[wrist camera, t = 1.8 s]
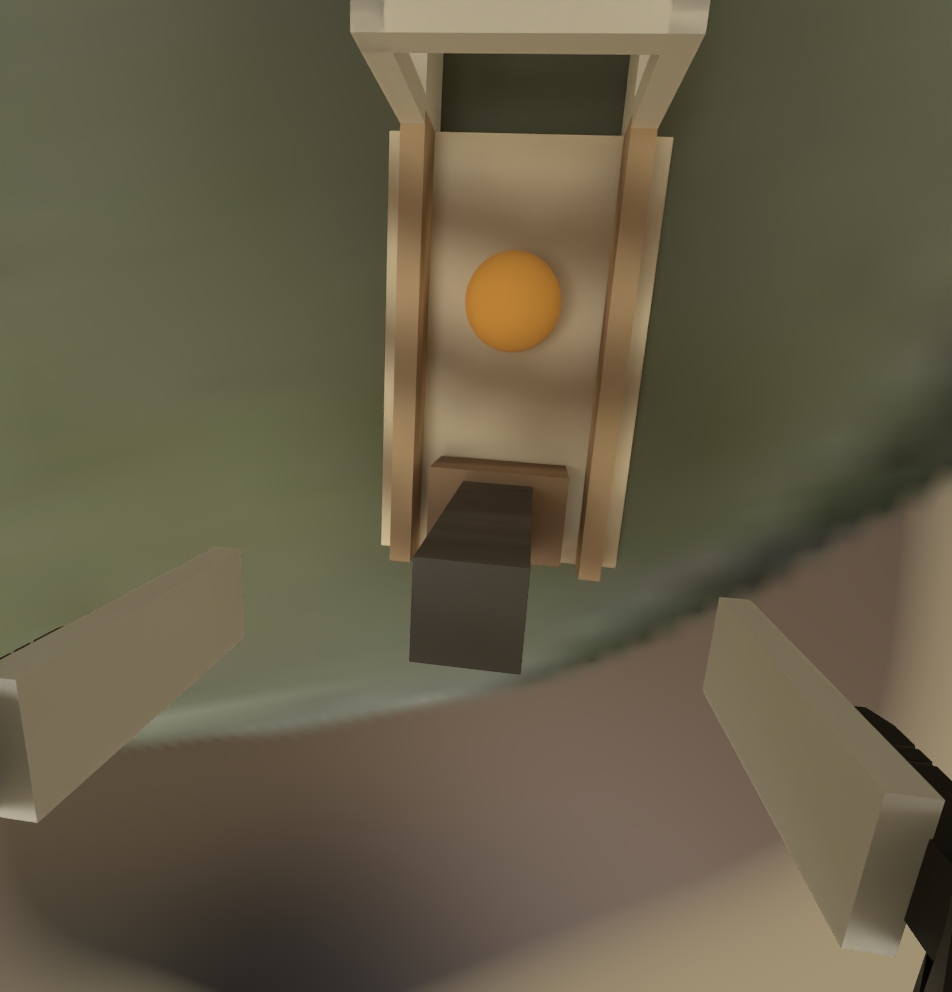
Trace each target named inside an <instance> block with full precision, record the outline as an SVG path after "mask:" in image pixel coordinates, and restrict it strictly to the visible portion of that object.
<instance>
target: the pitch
mask: <svg viewBox="0 0 952 992" xmlns="http://www.w3.org/2000/svg"><path fill="white" fill-rule="evenodd" d="M632 115H633V114H632ZM631 124H632V117H631V119H630V122H629V125H628V127H627V130H626V133H625V135H624V136H601V135H557V134H512V133H467V132H435V131H434V128H433V126H432V124H431V121H430V119H429V117H428V114H427V112H426V109H425V124H408V123H400V131H390V135H389V186H388V236H387V286H386V336H385V387H384V437H383V487H382V537H381V545H387V546H390V560H392V561H401V562H411V560H412V559H413V556H414V555H415V553H416V552H417V550H418V549H419V547H420V546H421V544H422V543H423V541H424V540H425V538H426V536H427V512H428V488H429V467H430V466H431V465H432V464H433V463H434V462H435V461H436V460H437V459H439V458H440V457H441V456H450V457H463V458H475V459H488V460H500V461H512V462H525V463H537V464H549V465H562V466H566V469H567V472H568V475H569V487H568V496H567V506H566V515H565V524H564V534H563V543H562V552H561V561H560V563H570V564H575V567H576V572H577V577H578V579H580V580H590V581H600V576H601V568H602V567H611V568H615V567H616V559H617V552H618V545H619V537H620V530H621V522H622V515H623V508H624V500H625V493H626V485H627V478H628V471H629V463H630V456H631V448H632V441H633V434H634V426H635V419H636V411H637V404H638V397H639V389H640V382H641V374H642V367H643V360H644V352H645V345H646V337H647V330H648V322H649V315H650V308H651V300H652V293H653V285H654V278H655V271H656V263H657V256H658V248H659V241H660V234H661V226H662V219H663V211H664V204H665V197H666V189H667V182H668V174H669V167H670V160H671V152H672V145H673V137H657V131H658V129H646V128H631ZM509 250H519V251H525V252H529V253H531V254H534V255H536V256H537V257H539V258H541V259H542V260H543V261H544V262H546V264H547V265H548V266H549V267H550V268H551V269H552V271H553V272H554V274H555V276H556V278H557V281H558V283H559V287H560V292H561V308H560V313H559V317H558V320H557V322H556V324H555V326H554V328H553V330H552V331H551V332H550V334H549V335H548V336H547V337H546V338H545V339H544V340H543V341H542V342H540V343H539V344H538V345H536V346H534V347H532V348H530V349H528V350H524V351H520V352H503V351H500V350H496V349H494V348H492V347H490V346H488V345H487V344H485V343H484V342H483V341H481V339H480V338H479V337H478V336H477V335H476V334H475V332H474V331H473V329H472V327H471V326H470V323H469V321H468V318H467V314H466V309H465V296H466V290H467V286H468V284H469V281H470V279H471V277H472V275H473V274H474V272H475V271H476V269H477V268H478V267H479V266H480V265H481V264H482V263H483V262H484V261H485V260H486V259H488V258H489V257H491V256H493V255H495V254H497V253H500V252H503V251H509Z"/></svg>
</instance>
